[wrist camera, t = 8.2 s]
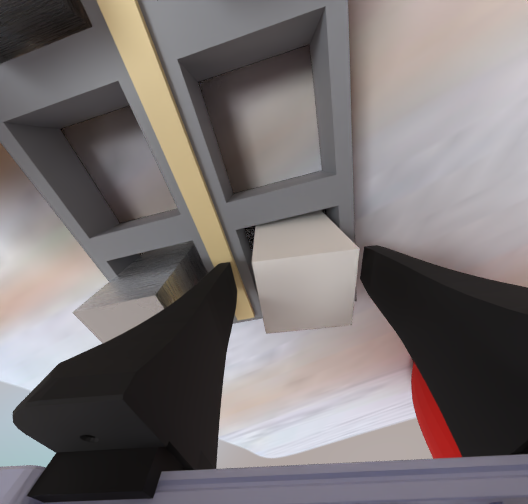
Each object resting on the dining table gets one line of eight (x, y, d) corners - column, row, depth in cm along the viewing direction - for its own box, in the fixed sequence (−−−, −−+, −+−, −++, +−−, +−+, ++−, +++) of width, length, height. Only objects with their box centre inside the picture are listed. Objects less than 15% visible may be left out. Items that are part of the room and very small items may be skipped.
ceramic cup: (505, 242, 13) (986, 417, 4) (530, 358, 19) (753, 529, 11) (341, 322, 17) (424, 506, 8) (405, 399, 23) (493, 550, 14)
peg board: (167, 313, 16) (150, 341, 14) (-133, -140, 6) (-378, -321, 4) (342, 278, 15) (358, 304, 12) (295, -403, 5) (329, -992, 2)
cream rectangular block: (265, 266, 14) (266, 333, 9) (256, 215, 12) (251, 262, 7) (318, 260, 14) (351, 325, 9) (317, 207, 12) (359, 248, 7)
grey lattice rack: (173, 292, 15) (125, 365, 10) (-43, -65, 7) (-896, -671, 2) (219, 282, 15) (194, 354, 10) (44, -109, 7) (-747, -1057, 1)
